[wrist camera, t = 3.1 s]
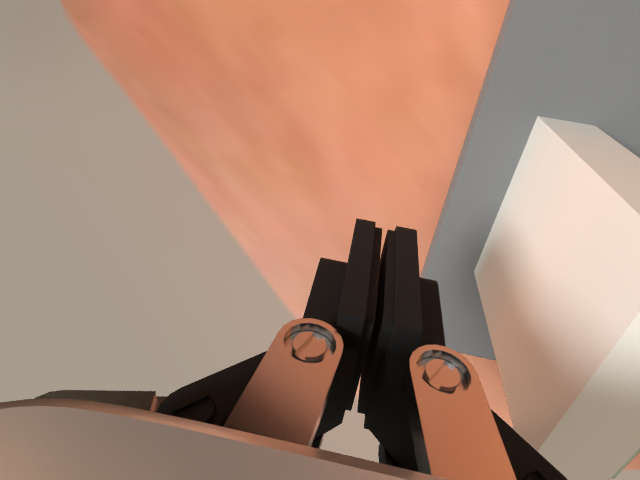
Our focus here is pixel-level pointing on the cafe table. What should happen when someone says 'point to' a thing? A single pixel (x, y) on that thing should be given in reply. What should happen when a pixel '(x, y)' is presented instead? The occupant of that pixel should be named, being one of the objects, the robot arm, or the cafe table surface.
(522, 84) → the mat
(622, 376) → the tile
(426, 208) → the cafe table surface
